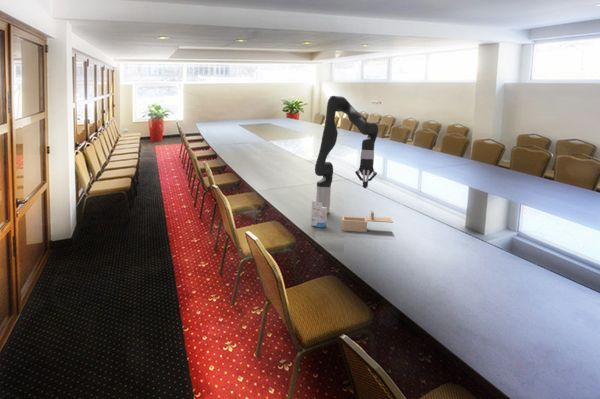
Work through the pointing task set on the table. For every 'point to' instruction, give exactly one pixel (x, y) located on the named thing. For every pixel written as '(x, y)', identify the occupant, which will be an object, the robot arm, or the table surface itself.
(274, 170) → the table surface
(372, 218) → the lid
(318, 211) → the ink box
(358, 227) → the open wooden box
